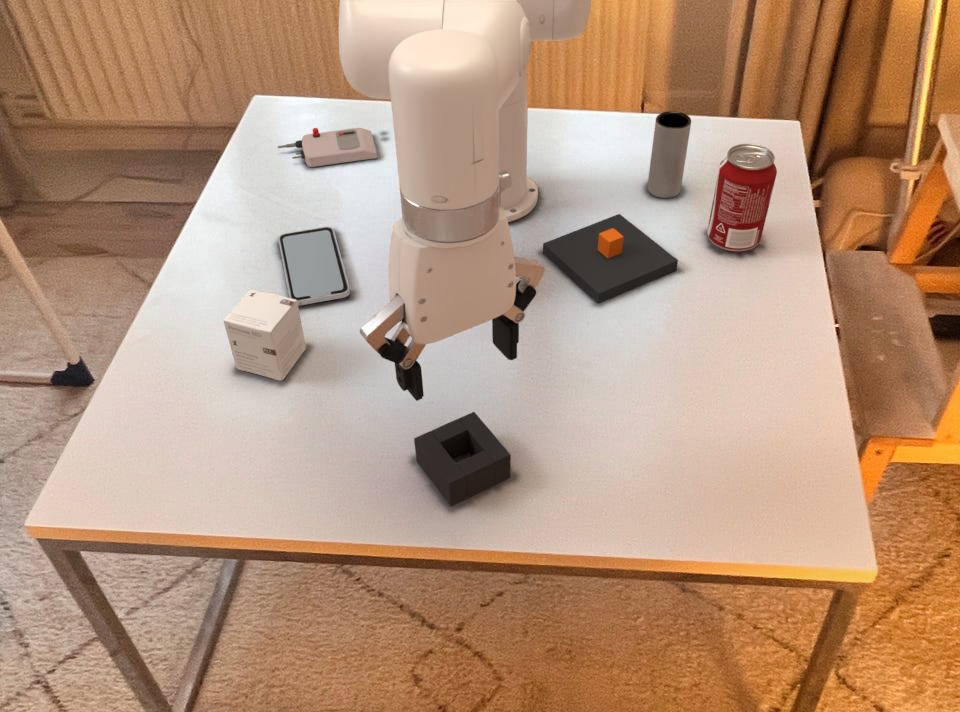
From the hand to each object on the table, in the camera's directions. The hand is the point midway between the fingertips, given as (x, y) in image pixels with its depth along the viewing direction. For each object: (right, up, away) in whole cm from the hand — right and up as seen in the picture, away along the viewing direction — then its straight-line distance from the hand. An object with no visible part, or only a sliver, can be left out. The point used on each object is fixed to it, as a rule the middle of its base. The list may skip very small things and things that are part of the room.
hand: (459, 370), depth 83 cm
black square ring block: (0, -9, +10) cm, 14 cm away
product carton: (-22, +3, +22) cm, 31 cm away
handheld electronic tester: (-20, +36, +52) cm, 66 cm away
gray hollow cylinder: (+27, +28, +44) cm, 59 cm away
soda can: (+34, +20, +36) cm, 53 cm away
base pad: (+18, +16, +33) cm, 41 cm away
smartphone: (-19, +16, +34) cm, 42 cm away
